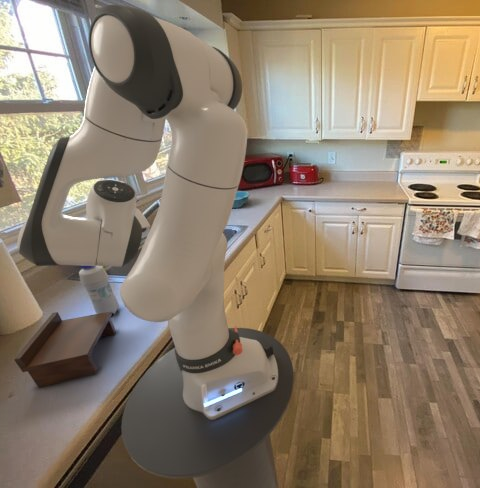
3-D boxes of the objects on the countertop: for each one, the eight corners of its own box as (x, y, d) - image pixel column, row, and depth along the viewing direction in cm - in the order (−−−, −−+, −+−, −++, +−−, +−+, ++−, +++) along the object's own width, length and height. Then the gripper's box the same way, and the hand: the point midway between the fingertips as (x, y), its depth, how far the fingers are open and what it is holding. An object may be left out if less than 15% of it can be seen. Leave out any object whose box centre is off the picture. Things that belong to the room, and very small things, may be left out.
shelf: (118, 329, 86) (107, 303, 81) (97, 374, 71) (82, 345, 67) (67, 340, 82) (52, 312, 78) (34, 389, 68) (13, 359, 63)
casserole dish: (192, 209, 189) (189, 199, 186) (207, 199, 209) (205, 190, 206) (244, 210, 186) (243, 199, 183) (255, 200, 206) (253, 190, 203)
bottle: (92, 316, 91) (66, 263, 83) (112, 304, 97) (90, 253, 88) (106, 321, 89) (82, 267, 81) (126, 308, 95) (105, 256, 86)
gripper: (62, 254, 60) (63, 279, 69) (156, 224, 76) (147, 248, 85) (46, 231, 60) (49, 258, 69) (143, 206, 76) (135, 231, 85)
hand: (104, 252), depth 77 cm, fingers open, 8 cm apart
